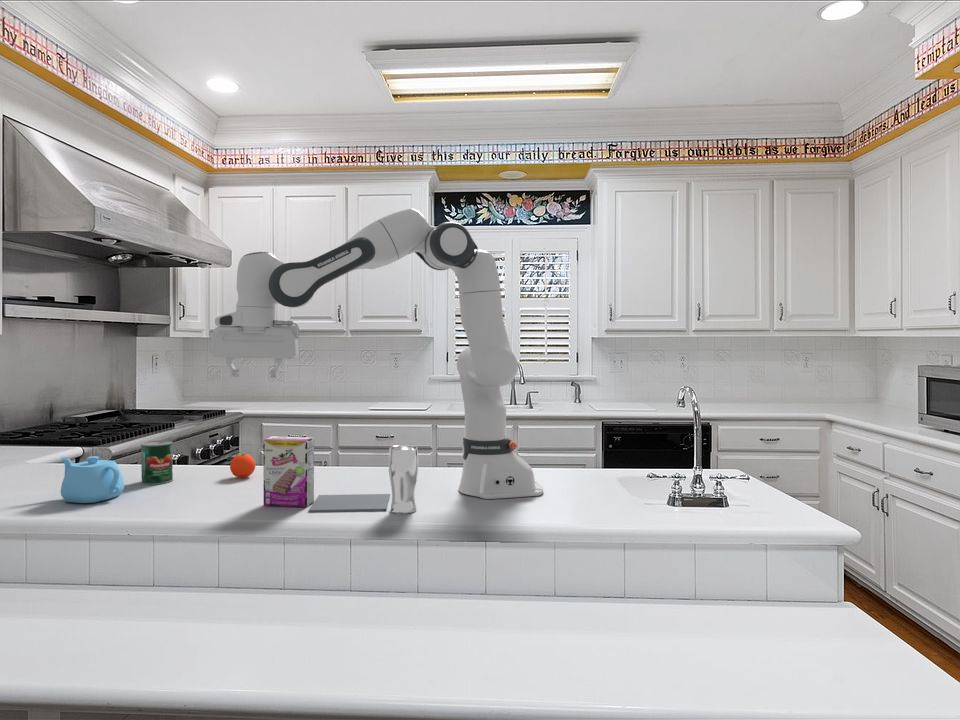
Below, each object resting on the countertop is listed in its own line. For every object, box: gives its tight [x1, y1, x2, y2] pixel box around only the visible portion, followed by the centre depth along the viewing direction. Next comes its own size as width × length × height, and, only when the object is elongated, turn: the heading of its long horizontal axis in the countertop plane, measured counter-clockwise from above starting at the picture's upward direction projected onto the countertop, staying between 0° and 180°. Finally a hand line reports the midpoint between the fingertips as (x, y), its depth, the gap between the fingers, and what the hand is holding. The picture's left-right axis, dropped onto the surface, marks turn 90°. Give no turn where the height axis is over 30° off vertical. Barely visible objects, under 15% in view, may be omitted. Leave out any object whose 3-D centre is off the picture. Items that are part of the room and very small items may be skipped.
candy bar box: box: [262, 435, 315, 508], centre depth 154 cm, size 11×5×16 cm, turn 84°
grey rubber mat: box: [308, 493, 391, 513], centre depth 156 cm, size 18×14×1 cm
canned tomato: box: [140, 439, 174, 486], centre depth 178 cm, size 8×8×11 cm
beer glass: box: [388, 444, 419, 515], centre depth 150 cm, size 7×7×15 cm
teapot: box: [60, 455, 125, 504], centre depth 159 cm, size 13×11×18 cm
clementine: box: [229, 453, 256, 479], centre depth 184 cm, size 8×7×7 cm
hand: (254, 377), depth 153 cm, fingers open, 8 cm apart
